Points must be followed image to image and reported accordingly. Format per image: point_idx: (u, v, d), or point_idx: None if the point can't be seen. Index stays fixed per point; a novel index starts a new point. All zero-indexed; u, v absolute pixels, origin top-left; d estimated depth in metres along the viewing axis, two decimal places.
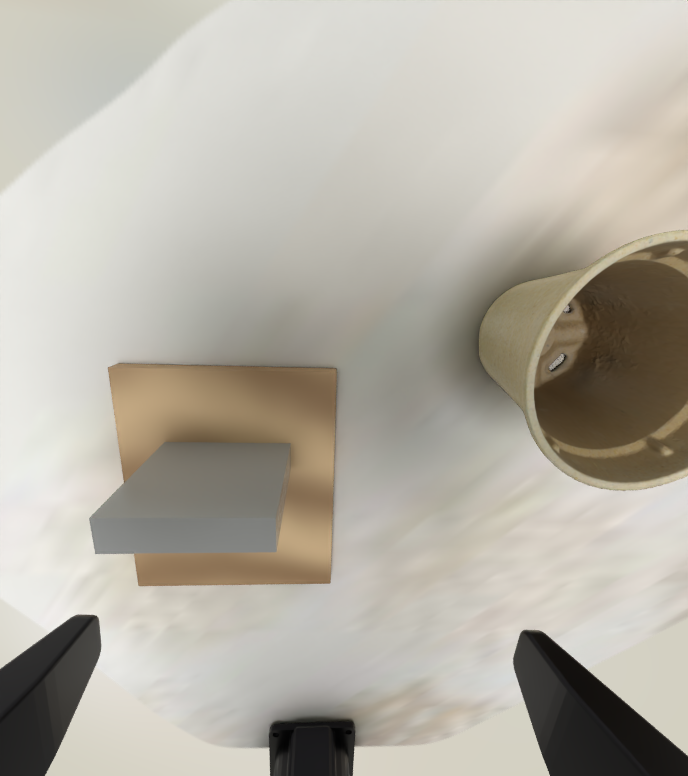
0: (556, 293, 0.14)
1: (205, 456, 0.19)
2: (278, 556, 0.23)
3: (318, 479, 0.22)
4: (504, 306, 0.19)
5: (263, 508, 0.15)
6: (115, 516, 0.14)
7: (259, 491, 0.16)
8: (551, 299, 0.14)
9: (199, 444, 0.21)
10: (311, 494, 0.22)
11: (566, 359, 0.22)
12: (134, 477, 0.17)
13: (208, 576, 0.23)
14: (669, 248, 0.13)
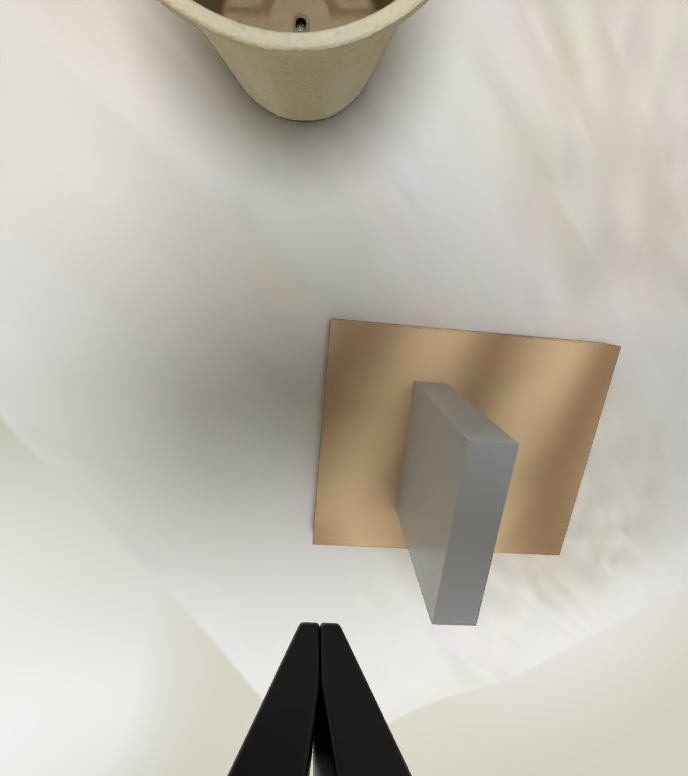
0: None
1: (409, 478, 0.17)
2: (561, 408, 0.19)
3: (466, 351, 0.18)
4: (243, 82, 0.13)
5: (457, 448, 0.12)
6: (435, 600, 0.13)
7: (443, 442, 0.13)
8: None
9: (401, 477, 0.19)
10: (485, 361, 0.18)
11: None
12: (412, 557, 0.16)
13: (567, 487, 0.20)
14: None
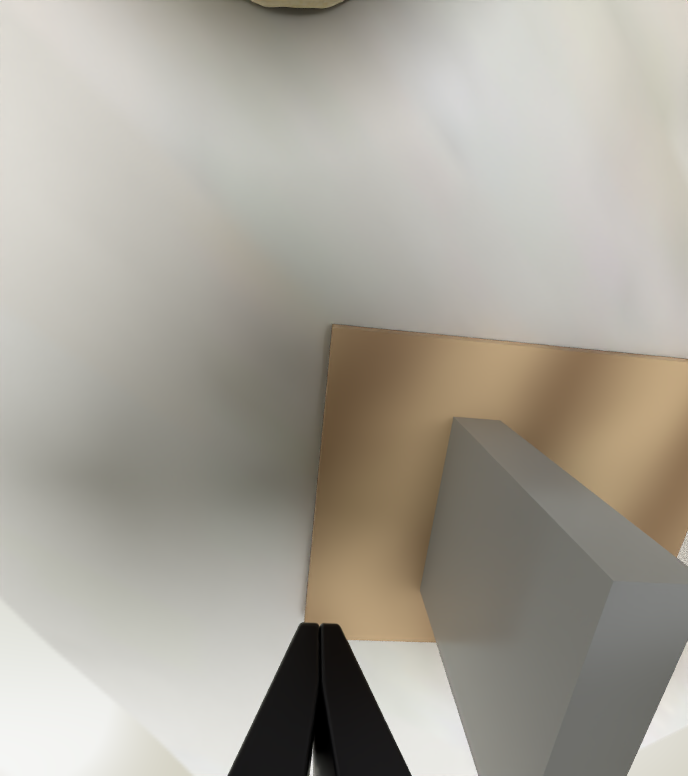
0: None
1: (447, 562, 0.12)
2: (661, 455, 0.13)
3: (532, 375, 0.12)
4: None
5: (574, 578, 0.06)
6: None
7: (529, 546, 0.08)
8: None
9: (430, 551, 0.13)
10: (558, 389, 0.12)
11: None
12: (457, 697, 0.10)
13: None
14: None
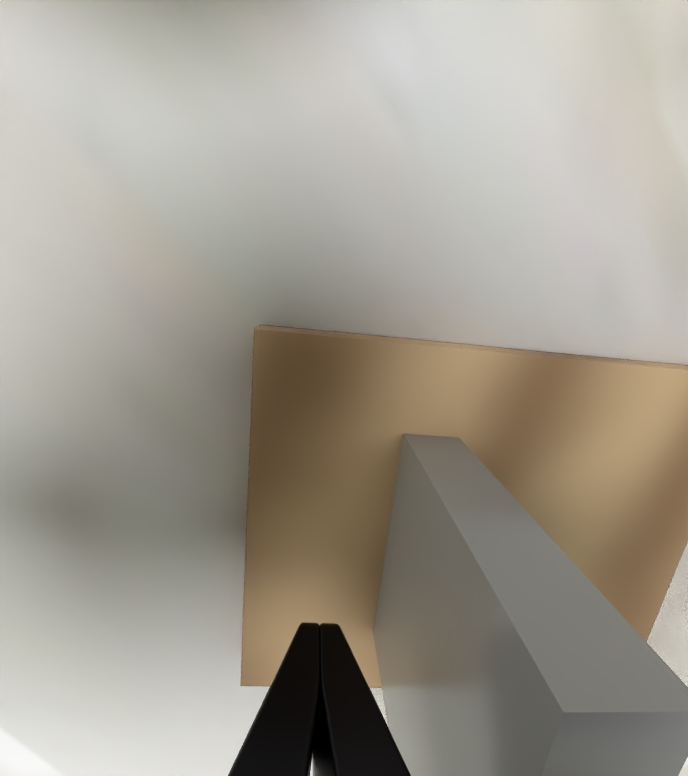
0: None
1: (395, 607, 0.10)
2: (648, 476, 0.11)
3: (495, 384, 0.10)
4: None
5: (516, 686, 0.04)
6: None
7: (469, 619, 0.06)
8: None
9: (382, 588, 0.11)
10: (526, 401, 0.10)
11: None
12: None
13: (647, 595, 0.13)
14: None
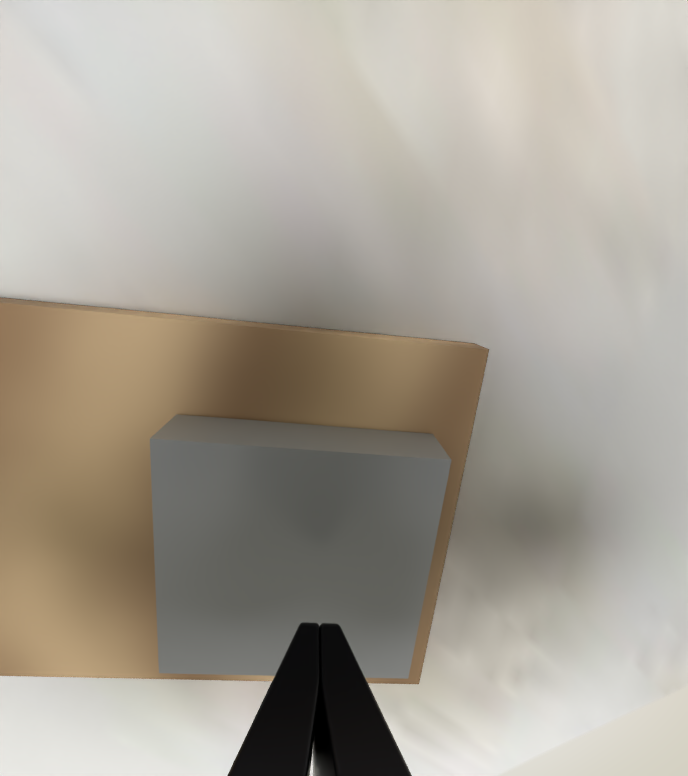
0: None
1: (224, 594, 0.10)
2: None
3: (202, 356, 0.10)
4: None
5: (421, 479, 0.09)
6: (407, 654, 0.11)
7: (367, 489, 0.09)
8: None
9: (168, 615, 0.10)
10: (241, 375, 0.10)
11: None
12: None
13: None
14: None
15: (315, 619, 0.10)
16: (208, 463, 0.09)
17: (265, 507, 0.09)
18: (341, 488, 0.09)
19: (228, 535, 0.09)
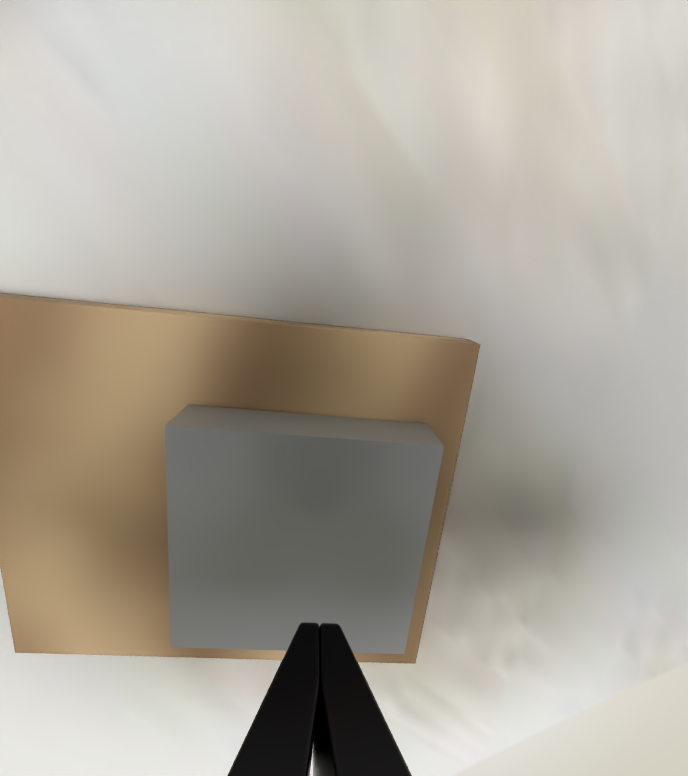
0: None
1: (232, 572, 0.10)
2: None
3: (212, 350, 0.10)
4: None
5: (416, 464, 0.10)
6: (403, 630, 0.11)
7: (366, 474, 0.10)
8: None
9: (179, 592, 0.10)
10: (248, 368, 0.11)
11: None
12: None
13: None
14: None
15: (317, 596, 0.11)
16: (218, 448, 0.09)
17: (271, 490, 0.10)
18: (341, 472, 0.10)
19: (236, 516, 0.10)
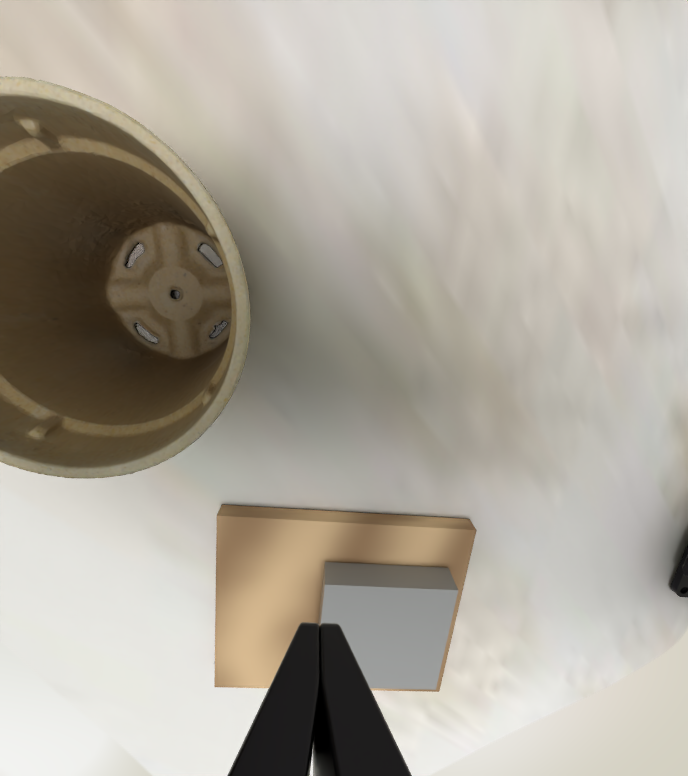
0: (5, 408, 0.11)
1: None
2: None
3: (339, 536, 0.20)
4: None
5: (444, 598, 0.20)
6: (435, 677, 0.21)
7: (419, 603, 0.20)
8: (13, 414, 0.11)
9: None
10: (356, 543, 0.20)
11: (205, 243, 0.17)
12: (383, 685, 0.21)
13: None
14: None
15: (391, 661, 0.21)
16: (349, 594, 0.19)
17: (372, 611, 0.20)
18: (407, 603, 0.20)
19: (354, 623, 0.20)
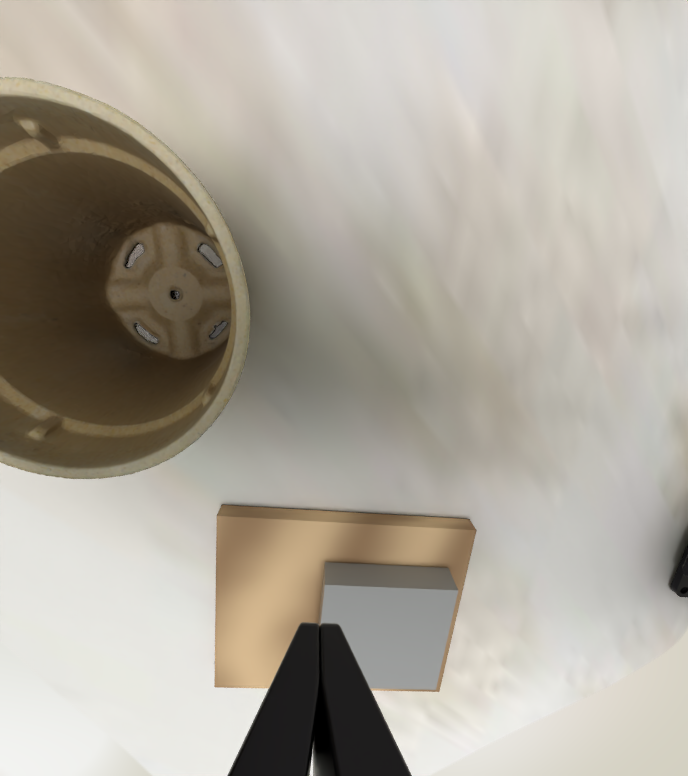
0: (5, 408, 0.11)
1: None
2: None
3: (339, 536, 0.20)
4: None
5: (444, 598, 0.20)
6: (435, 677, 0.21)
7: (419, 603, 0.20)
8: (12, 415, 0.11)
9: None
10: (356, 544, 0.20)
11: (205, 243, 0.17)
12: (383, 685, 0.21)
13: None
14: None
15: (391, 661, 0.21)
16: (349, 594, 0.19)
17: (372, 611, 0.20)
18: (407, 603, 0.20)
19: (354, 624, 0.20)
